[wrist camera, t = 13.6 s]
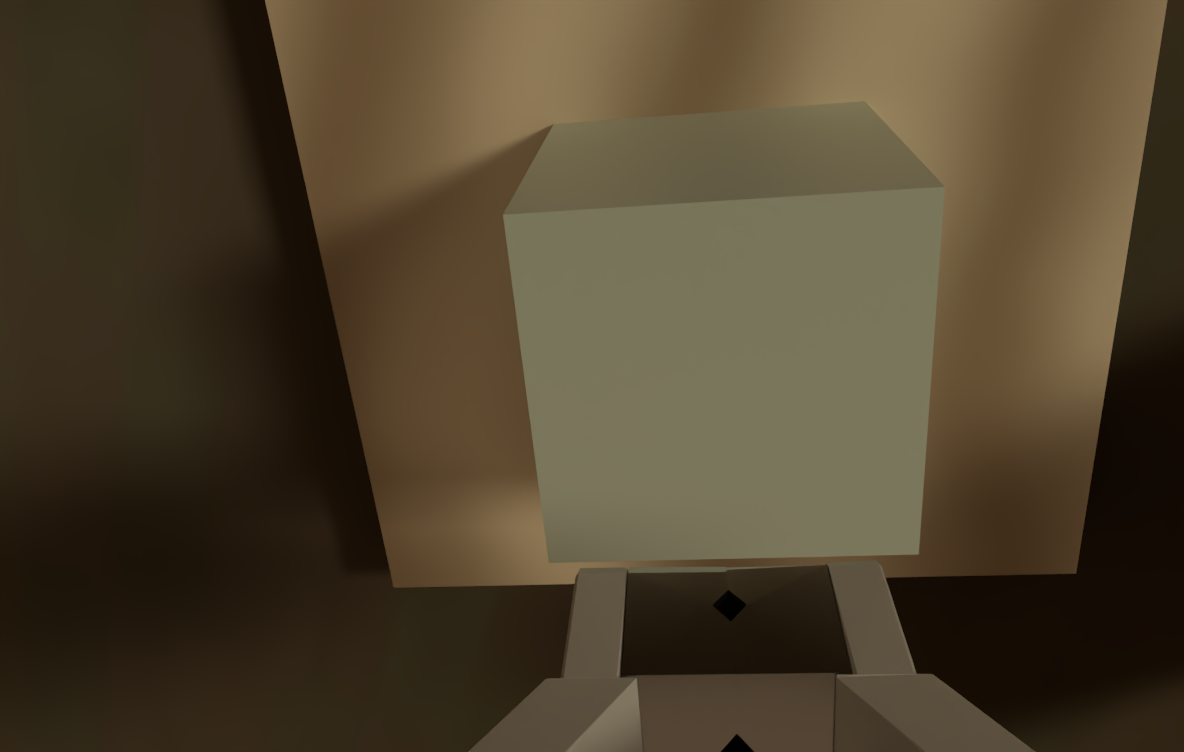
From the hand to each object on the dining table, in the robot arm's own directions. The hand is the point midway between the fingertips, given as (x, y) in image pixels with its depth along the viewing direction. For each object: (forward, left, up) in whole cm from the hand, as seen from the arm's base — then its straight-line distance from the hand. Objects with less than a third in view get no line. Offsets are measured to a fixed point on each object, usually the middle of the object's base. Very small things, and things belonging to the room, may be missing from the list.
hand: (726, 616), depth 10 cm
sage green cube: (0, 0, -11) cm, 11 cm away
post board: (0, 0, -12) cm, 12 cm away
